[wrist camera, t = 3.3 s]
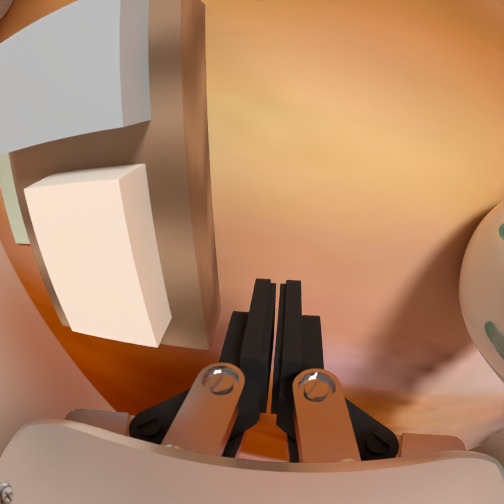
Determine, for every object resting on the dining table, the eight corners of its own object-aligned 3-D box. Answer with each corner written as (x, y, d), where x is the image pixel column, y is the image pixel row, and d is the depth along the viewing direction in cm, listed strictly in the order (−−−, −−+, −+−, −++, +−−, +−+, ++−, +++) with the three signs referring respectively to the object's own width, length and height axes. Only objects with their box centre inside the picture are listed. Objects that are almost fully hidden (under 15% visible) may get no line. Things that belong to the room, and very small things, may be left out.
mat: (-8, 112, 15) (-11, 113, 15) (43, 90, 15) (39, 90, 14) (18, 241, 21) (15, 243, 21) (69, 243, 20) (66, 245, 20)
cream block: (53, 173, 13) (23, 189, 11) (145, 163, 13) (118, 179, 11) (90, 306, 18) (72, 331, 16) (171, 317, 17) (157, 347, 15)
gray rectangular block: (21, 146, 13) (-9, 158, 11) (15, 52, 10) (-15, 54, 8) (151, 120, 12) (123, 126, 10) (148, -2, 9) (121, -17, 7)
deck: (42, 52, 13) (2, 53, 10) (204, 4, 12) (180, -18, 8) (86, 295, 23) (62, 325, 19) (221, 309, 22) (209, 350, 18)
